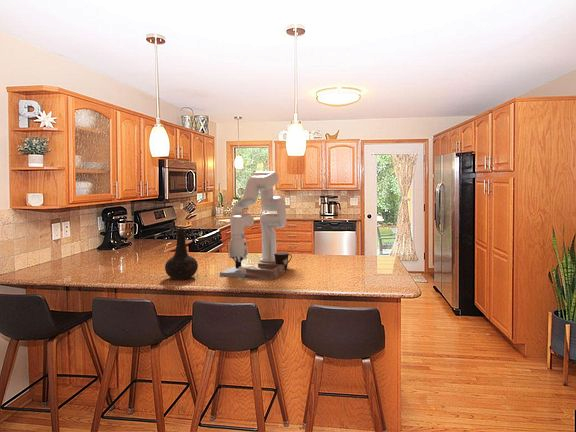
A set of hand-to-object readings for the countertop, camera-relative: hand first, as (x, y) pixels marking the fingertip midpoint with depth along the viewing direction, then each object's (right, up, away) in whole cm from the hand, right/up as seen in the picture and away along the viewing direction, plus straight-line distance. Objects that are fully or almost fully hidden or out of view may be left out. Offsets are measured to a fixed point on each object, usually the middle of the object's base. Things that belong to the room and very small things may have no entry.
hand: (238, 268), depth 263 cm
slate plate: (+1, -3, 0) cm, 3 cm away
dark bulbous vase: (-31, -5, -9) cm, 32 cm away
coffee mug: (+27, -2, +8) cm, 28 cm away
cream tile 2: (+10, -2, -3) cm, 11 cm away
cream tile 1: (+4, -1, -2) cm, 5 cm away
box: (+16, -3, -6) cm, 18 cm away
